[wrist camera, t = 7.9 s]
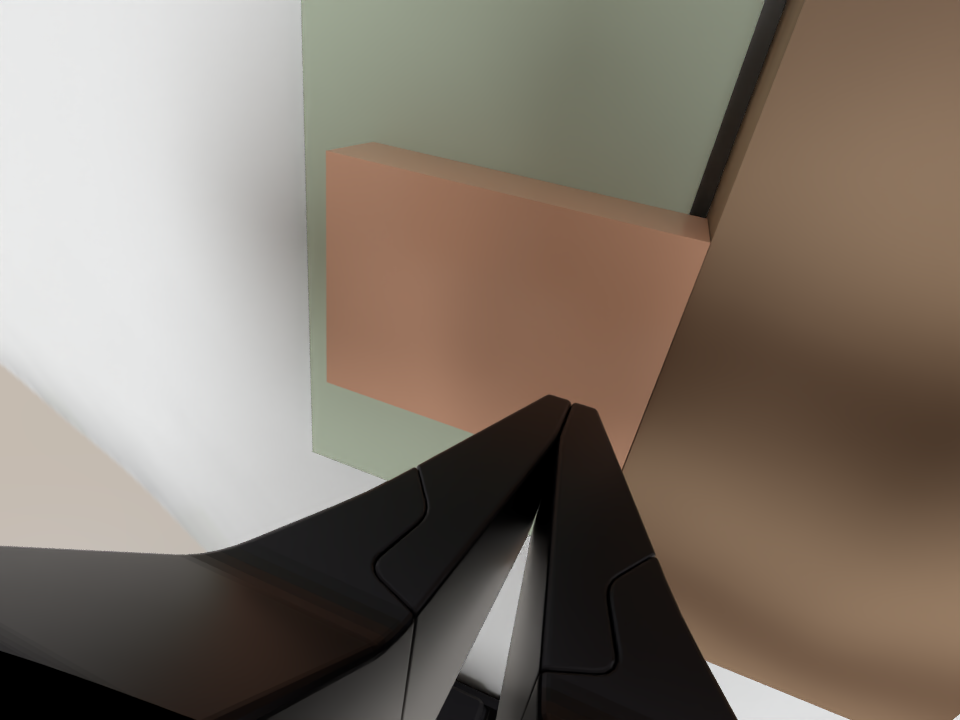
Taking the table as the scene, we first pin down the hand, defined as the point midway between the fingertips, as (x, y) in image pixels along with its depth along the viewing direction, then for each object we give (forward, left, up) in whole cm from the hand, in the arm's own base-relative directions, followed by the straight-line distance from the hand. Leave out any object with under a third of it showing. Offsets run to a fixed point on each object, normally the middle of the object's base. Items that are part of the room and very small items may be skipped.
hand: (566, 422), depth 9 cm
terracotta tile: (0, +3, -5) cm, 5 cm away
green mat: (0, +4, -5) cm, 7 cm away
